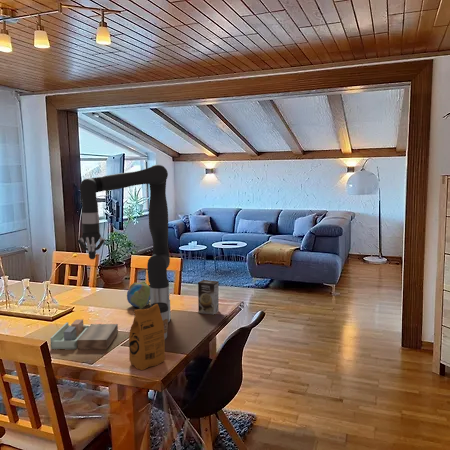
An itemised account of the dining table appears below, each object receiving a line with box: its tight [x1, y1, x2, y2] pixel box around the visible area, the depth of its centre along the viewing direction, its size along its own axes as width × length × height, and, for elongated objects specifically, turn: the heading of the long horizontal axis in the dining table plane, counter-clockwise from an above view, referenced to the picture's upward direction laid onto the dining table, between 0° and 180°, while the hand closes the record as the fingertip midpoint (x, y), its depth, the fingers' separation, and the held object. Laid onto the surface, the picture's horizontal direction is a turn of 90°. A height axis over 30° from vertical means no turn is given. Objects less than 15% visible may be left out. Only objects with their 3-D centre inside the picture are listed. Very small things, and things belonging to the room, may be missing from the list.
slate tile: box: [64, 327, 77, 341], centre depth 181 cm, size 6×6×3 cm
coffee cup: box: [148, 302, 169, 340], centre depth 186 cm, size 8×8×15 cm
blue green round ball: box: [126, 281, 150, 309], centre depth 230 cm, size 14×16×15 cm
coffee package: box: [128, 304, 166, 371], centre depth 162 cm, size 10×12×22 cm
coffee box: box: [197, 279, 220, 316], centre depth 220 cm, size 9×6×16 cm
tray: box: [49, 322, 90, 351], centre depth 185 cm, size 10×18×5 cm, turn 0°
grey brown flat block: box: [77, 323, 119, 350], centre depth 185 cm, size 12×18×4 cm, turn 0°
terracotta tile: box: [70, 318, 84, 337], centre depth 189 cm, size 6×6×3 cm
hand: (92, 259), depth 199 cm, fingers closed
